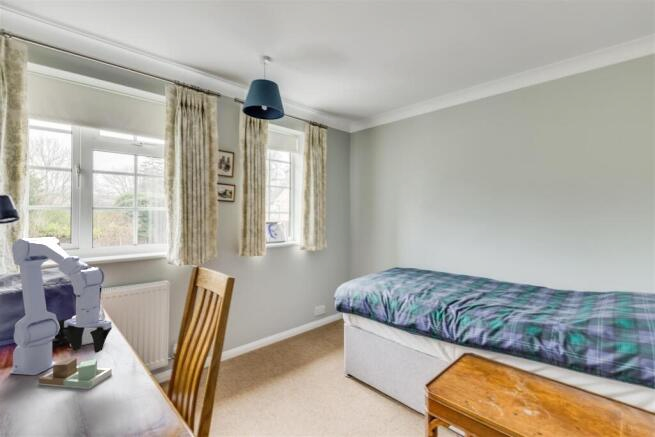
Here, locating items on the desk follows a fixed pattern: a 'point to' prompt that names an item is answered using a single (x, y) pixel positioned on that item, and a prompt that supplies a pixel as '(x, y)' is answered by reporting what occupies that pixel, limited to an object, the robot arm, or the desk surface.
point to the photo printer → (87, 333)
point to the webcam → (61, 335)
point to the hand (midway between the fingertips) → (87, 350)
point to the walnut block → (65, 368)
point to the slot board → (75, 379)
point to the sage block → (87, 370)
